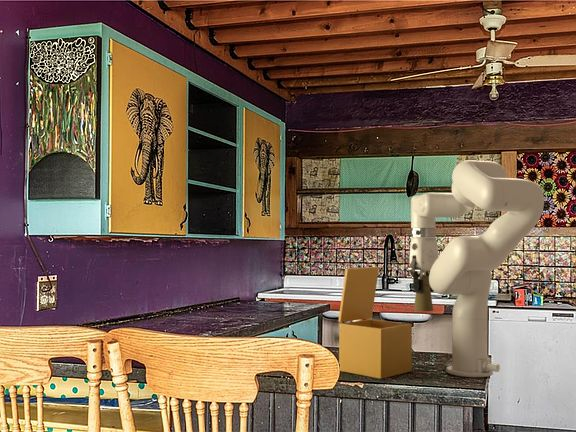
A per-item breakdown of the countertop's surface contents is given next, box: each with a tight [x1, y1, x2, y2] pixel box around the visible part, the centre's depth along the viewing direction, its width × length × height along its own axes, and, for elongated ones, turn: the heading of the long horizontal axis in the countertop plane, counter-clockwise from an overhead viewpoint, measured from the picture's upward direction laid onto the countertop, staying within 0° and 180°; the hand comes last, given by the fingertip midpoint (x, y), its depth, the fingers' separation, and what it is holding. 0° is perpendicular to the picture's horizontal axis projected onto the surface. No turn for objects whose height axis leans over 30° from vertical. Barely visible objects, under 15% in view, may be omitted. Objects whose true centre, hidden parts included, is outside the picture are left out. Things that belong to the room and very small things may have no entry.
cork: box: [413, 274, 434, 312], centre depth 214 cm, size 6×6×11 cm
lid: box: [337, 266, 380, 323], centre depth 200 cm, size 15×15×5 cm
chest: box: [338, 318, 413, 380], centre depth 194 cm, size 15×15×13 cm
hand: (423, 291), depth 214 cm, fingers closed on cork, 5 cm apart
